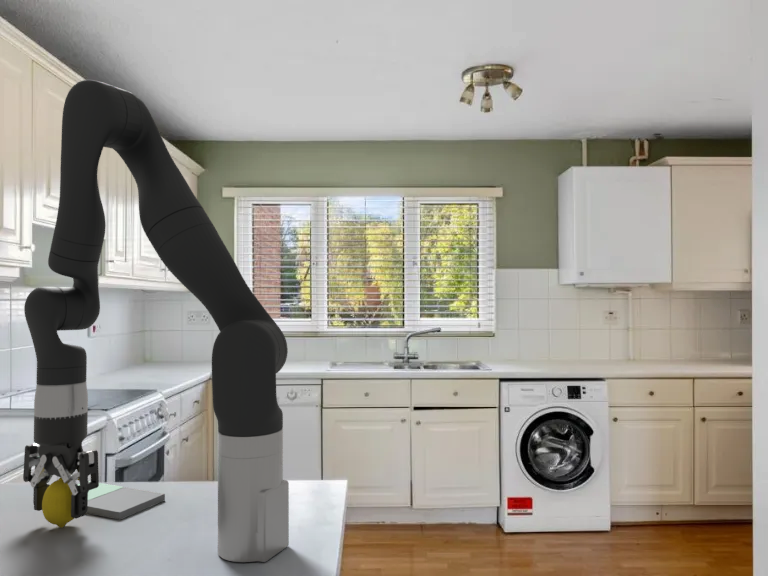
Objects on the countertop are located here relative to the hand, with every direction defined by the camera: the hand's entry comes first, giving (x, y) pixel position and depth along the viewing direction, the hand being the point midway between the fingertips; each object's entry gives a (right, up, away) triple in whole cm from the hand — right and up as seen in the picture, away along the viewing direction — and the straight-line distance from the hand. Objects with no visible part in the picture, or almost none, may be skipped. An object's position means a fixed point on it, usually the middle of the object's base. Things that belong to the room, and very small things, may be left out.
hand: (59, 512), depth 92 cm
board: (+1, -3, +12) cm, 12 cm away
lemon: (0, -3, 0) cm, 3 cm away
